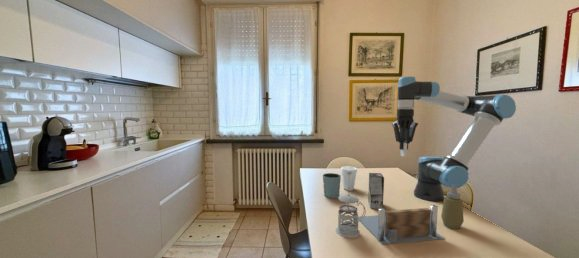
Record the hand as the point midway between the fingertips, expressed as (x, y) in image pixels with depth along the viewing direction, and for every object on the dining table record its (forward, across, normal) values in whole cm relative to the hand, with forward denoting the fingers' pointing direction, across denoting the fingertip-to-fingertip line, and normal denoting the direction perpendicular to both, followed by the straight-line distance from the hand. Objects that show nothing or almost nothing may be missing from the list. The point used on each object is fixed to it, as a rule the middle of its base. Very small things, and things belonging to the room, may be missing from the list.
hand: (403, 155), depth 123 cm
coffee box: (+27, +12, -4) cm, 29 cm away
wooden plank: (+26, +16, +28) cm, 41 cm away
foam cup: (+27, +15, -32) cm, 44 cm away
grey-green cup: (+27, +30, -21) cm, 45 cm away
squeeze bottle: (+27, -9, +22) cm, 36 cm away
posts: (+26, +16, +29) cm, 42 cm away
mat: (+26, +15, +20) cm, 36 cm away
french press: (+27, +36, +20) cm, 49 cm away
